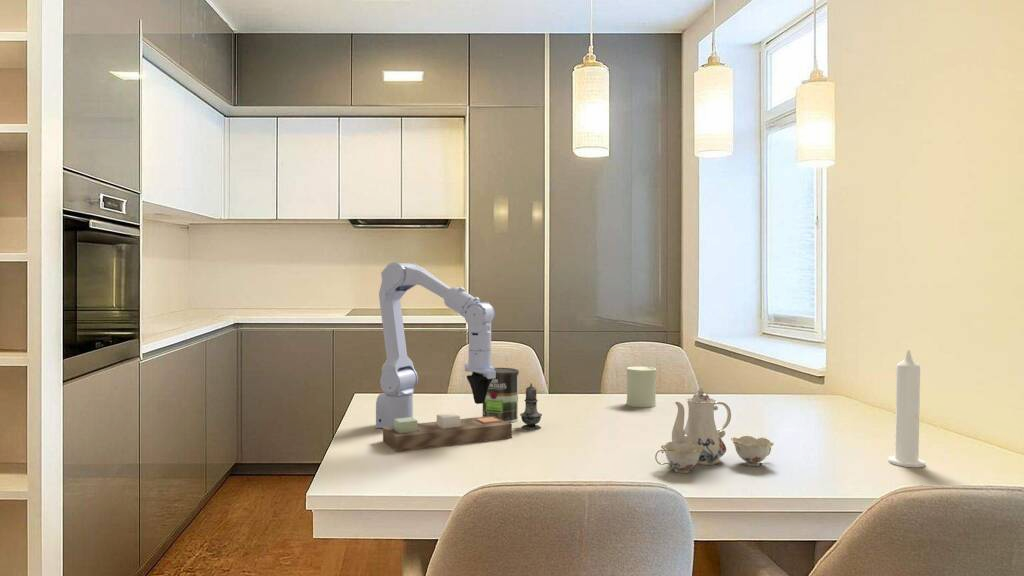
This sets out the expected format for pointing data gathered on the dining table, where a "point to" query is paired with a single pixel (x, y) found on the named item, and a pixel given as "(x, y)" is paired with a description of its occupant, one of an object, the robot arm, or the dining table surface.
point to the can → (641, 386)
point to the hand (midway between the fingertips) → (479, 403)
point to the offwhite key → (448, 420)
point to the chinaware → (707, 438)
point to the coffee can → (503, 395)
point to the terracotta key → (488, 420)
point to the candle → (907, 414)
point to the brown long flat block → (446, 434)
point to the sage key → (405, 425)
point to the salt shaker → (531, 410)
